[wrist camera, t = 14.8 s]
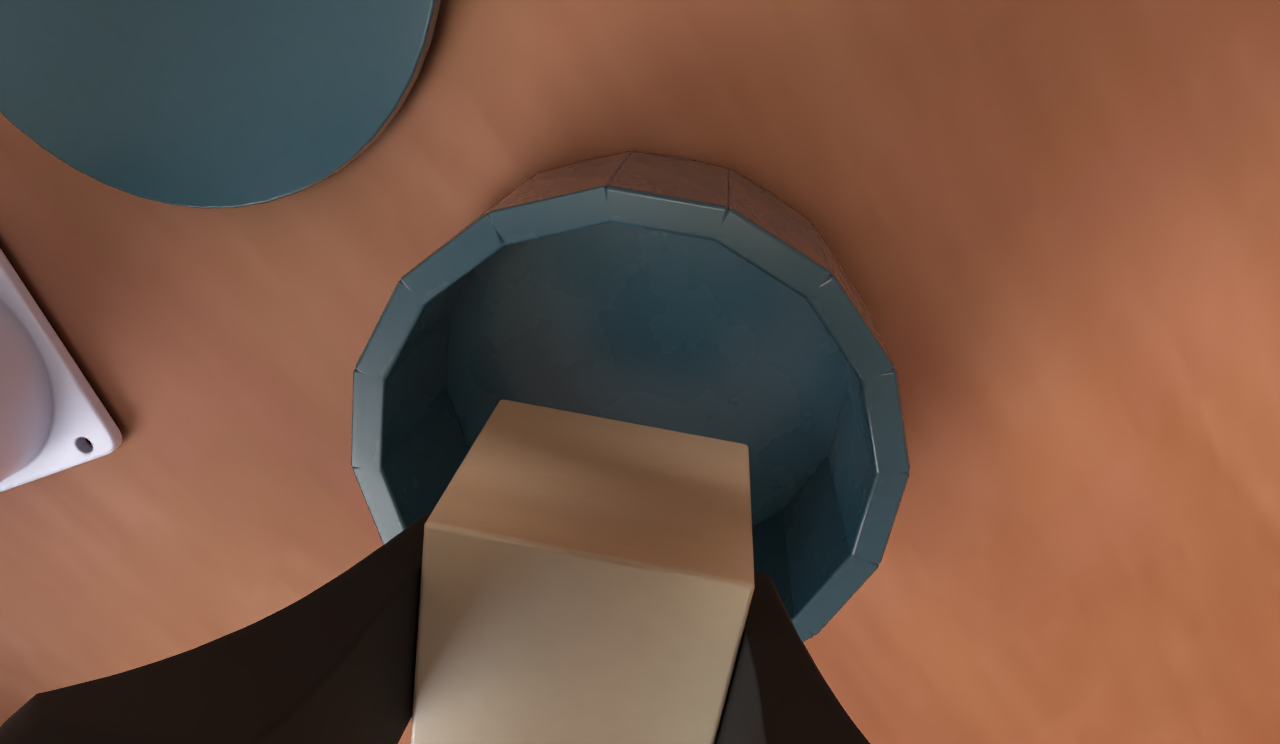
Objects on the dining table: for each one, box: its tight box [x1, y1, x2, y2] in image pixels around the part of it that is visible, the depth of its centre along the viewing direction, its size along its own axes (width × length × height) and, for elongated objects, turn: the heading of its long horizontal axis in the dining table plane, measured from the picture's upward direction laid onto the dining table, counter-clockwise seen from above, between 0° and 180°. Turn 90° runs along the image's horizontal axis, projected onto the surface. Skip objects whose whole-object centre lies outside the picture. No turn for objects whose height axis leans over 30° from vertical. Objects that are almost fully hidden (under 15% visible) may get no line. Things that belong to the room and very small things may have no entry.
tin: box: [351, 152, 910, 642], centre depth 20 cm, size 12×12×5 cm
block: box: [410, 400, 755, 744], centre depth 14 cm, size 5×5×4 cm
